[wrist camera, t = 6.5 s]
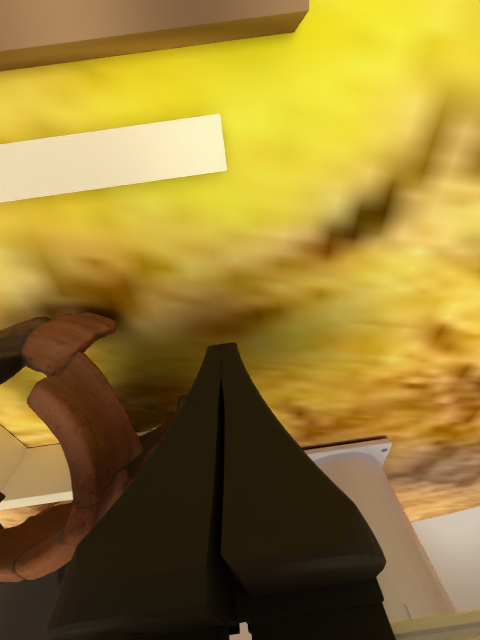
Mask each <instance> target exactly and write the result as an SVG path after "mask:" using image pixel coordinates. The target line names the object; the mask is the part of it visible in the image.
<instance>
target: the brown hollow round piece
mask: <svg viewBox="0 0 480 640" xmlns="http://www.w3.org/2000/svg"><path fill="white" fill-rule="evenodd" d="M115 330H116V322H115V321H113V320H111V319H109V318H107V317H104V316H101V315H98V314H95V313H91V312H82V313H78V314H71V313H67V314H65V315H64V316H62V317H60V318H57V319H53V320H51V319H50V318H48V317H36V318H33V319H30V320H28V321H24V322H21V323H18V324H15V325H13V326H11V327H8V328H6V329H3V330H1V331H0V384H2V383H4V382H6V381H7V380H8V379H10V378H11V377H13V376H14V375H15V374H16V373H17V372H19V371H20V370H21V369H22V368H23V367H25V366H27V367H29V368H31V369H33V370H34V371H38V372H42V373H44V374H45V375H46V376H47V378H44V379H42V380H40V381H39V382H37V383H36V384H35V386H34V388H33V390H32V392H31V393H30V395H29V397H28V399H27V403H28V405H29V407H30V408H31V409H32V410H33V411H34V412H35V413H36V414H37V415H38V416H39V418H40V419H42V420H43V421H44V423H45V424H46V425H47V426H48V428H49V429H50V430H51V432H52V433H53V434H54V435H55V437H56V438H57V439H58V441H59V442H60V445H61V447H62V449H63V452H64V455H65V458H66V461H67V464H68V467H69V471H70V477H71V486H72V494H73V500H72V502H71V503H66V504H59V505H55V506H52V507H50V508H48V509H46V510H44V511H42V512H41V513H39V514H37V515H35V516H30V517H29V518H28V519H27V520H26V521H25V522H23V523H22V524H20V525H18V526H15V527H11V528H7V529H4V528H3V526H2V525H1V524H0V582H20V581H22V580H24V579H27V580H33V579H37V578H40V577H42V576H45V575H47V574H48V573H51V572H54V571H56V570H57V569H59V568H61V567H62V566H63V565H65V564H67V563H68V562H69V561H70V560H71V559H72V556H73V554H74V552H75V549H76V547H77V545H78V544H79V543H80V541H81V540H82V539H83V538H84V537H85V536H86V535H87V534H88V532H89V531H90V530H91V529H92V528H93V527H94V526H95V524H96V523H97V522H98V521H99V520H100V519H101V518H102V516H103V515H104V514H105V513H106V512H107V511H108V510H109V508H110V507H111V506H112V505H113V504H114V503H115V501H116V500H117V499H118V498H119V497H120V495H121V494H122V493H123V492H124V490H125V489H126V488H127V487H128V485H129V484H130V483H131V481H132V480H133V479H134V478H135V476H136V475H137V474H138V473H139V471H140V470H141V469H142V467H143V466H144V465H145V463H146V462H147V461H148V459H149V458H150V457H151V455H152V454H153V452H154V451H155V449H156V448H157V447H158V445H159V444H160V442H161V441H162V439H163V438H164V436H165V435H166V433H167V432H168V430H169V428H170V427H171V425H172V424H173V422H174V420H175V419H176V417H177V415H178V413H179V412H180V410H181V408H182V406H183V404H184V402H185V400H186V398H187V395H182V396H180V397H179V401H178V405H177V410H176V413H173V412H172V413H171V414H170V415H169V416H168V418H167V419H166V420H165V421H164V422H163V423H162V424H161V425H160V426H159V427H158V428H156V429H155V430H153V431H150V432H148V433H146V434H144V435H141V436H138V435H137V433H136V431H135V429H134V427H133V425H132V423H131V420H130V417H129V415H128V412H127V410H126V409H125V407H124V406H123V405H122V404H121V403H120V401H119V400H118V398H117V397H116V395H115V393H114V392H113V389H112V387H111V386H110V384H109V383H108V381H107V379H106V377H105V376H104V375H103V373H102V372H101V371H100V369H99V368H98V367H97V366H96V365H95V364H94V363H93V362H92V361H91V360H90V359H89V358H88V357H87V356H86V354H84V352H85V351H86V350H87V348H88V347H90V346H91V345H92V344H93V343H94V342H95V341H96V340H98V339H100V338H103V337H105V336H107V335H109V334H112V333H114V332H115ZM5 497H6V496H5V495H4V494H3V493H1V492H0V502H1V501H3V499H5Z"/></svg>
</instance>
